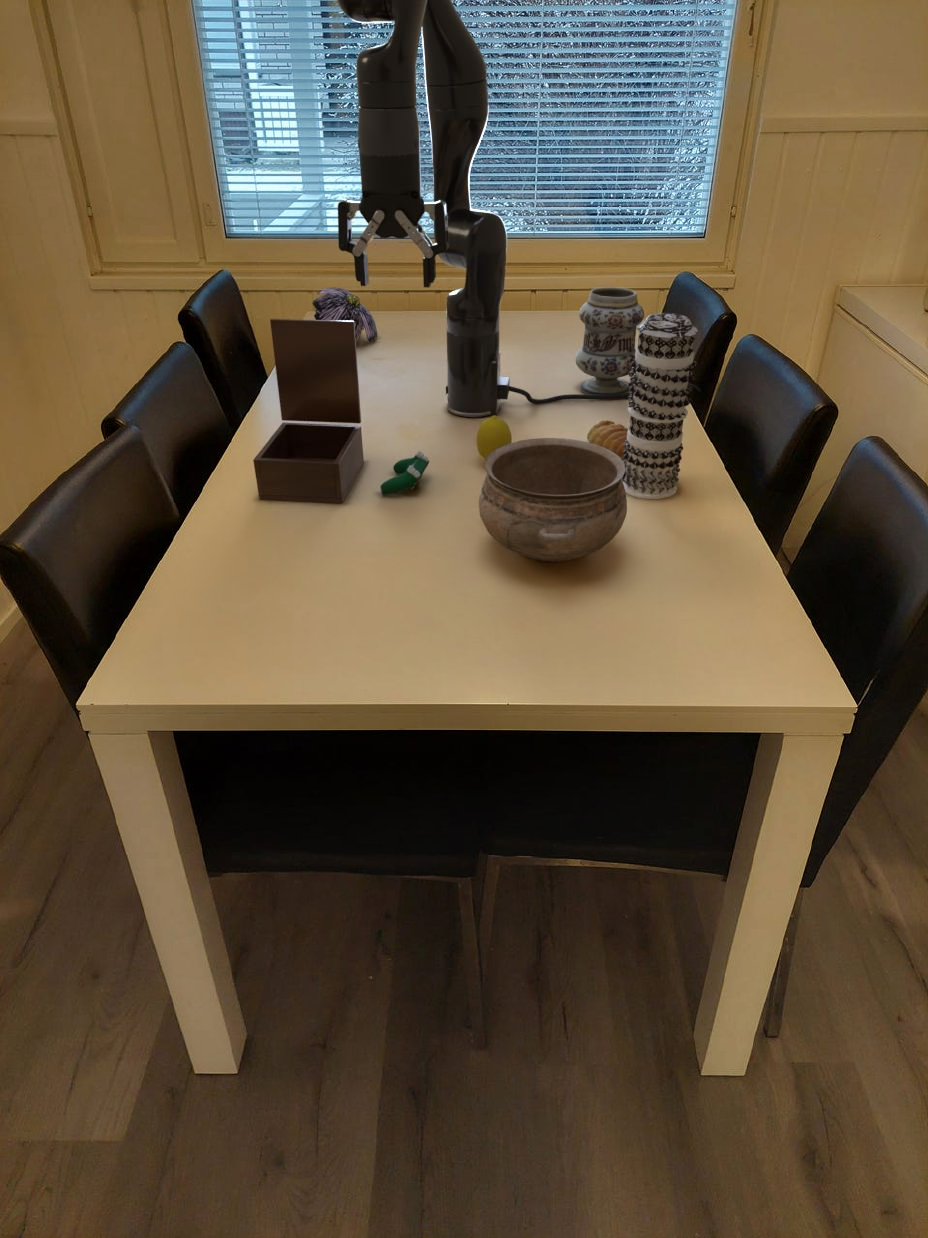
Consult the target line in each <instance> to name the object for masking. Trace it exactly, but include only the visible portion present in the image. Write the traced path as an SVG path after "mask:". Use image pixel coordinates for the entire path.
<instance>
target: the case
mask: <svg viewBox="0 0 928 1238" xmlns="http://www.w3.org/2000/svg"><path fill="white" fill-rule="evenodd" d="M362 434H363V433H362V425H360V424H359V425H358V424H336V423H335V424H333V423H332V424H331V423H309V422H306V423H305V422H285V421H284V422H282V423H281V424H280V425H279V427H278V428H277V429H276V430H275V431H274V433H273V434H272V436H271V437H270V438H268V441H267V442H266V443H265V444H264V445H263V447H262V448H261V449H260V450H259V452H258V453H257V455H256V456H255V457H254V458H253V460H252V461H253V467H254V468H253V469H254V474H255V480H256V487H257V494H258V499H259V500H268V501H288V502H306V503H307V502H308V503H309V502H310V503H329V504H330V503H331V504H343V503H344V501H345V499H346V498H347V496H348V493H349V492H350V489H351V488H352V486H353V484H354V482H355V480H356V478H357V476H358V474H359V472H360V470H361V469H362V467H363V465H364V463H365V462H364V461H365V460H364V447H363V435H362Z"/></svg>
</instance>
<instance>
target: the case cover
mask: <svg viewBox="0 0 928 1238" xmlns="http://www.w3.org/2000/svg"><path fill="white" fill-rule="evenodd" d="M269 323H270V331H271V339H272V348H273V355H274V357H273V358H274V365H275V373H276V382H277V392H278V398H279V399H278V400H279V408H280V417H281V421H284V422H285V421H287V422H310V423H312V422H313V423H335V424H337V423H338V424H361V423H362V413H361V399H360V398H361V397H360V384H359V383H360V382H359V369H358V355H357V354H358V353H357V343H356V337H355V323H354V321H341V320H316V319H300V318H299V319H297V318H291V319H290V318H270V320H269Z"/></svg>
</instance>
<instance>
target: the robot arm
mask: <svg viewBox="0 0 928 1238" xmlns="http://www.w3.org/2000/svg"><path fill="white" fill-rule="evenodd" d="M336 1H337V4H338V5H339V8H340V10H341V11H342V12H343V13H344V15H345V16H347V17H348V19H351V20H352V21H354V22H357V23H362V24H379V23H380V24H381V23H382V24H383V23H385V24H386V23H388V24H389V23H393V29H392V32H391V35H390V36H389V38H388V39H387V42H385V43H383V44H381V45H377V46H373V47H370V48H366V49H364V50H362V51H361V52H359V54H358V55H357V57H356V64H355V65H356V66H355V67H356V70H355V71H356V87H357V101H358V121H357V135H358V136H357V137H358V138H357V148H358V152H359V167H360V168H359V169H360V185H361V198H360V201H356V200H351V199H349V198H344V199H342V200H340V201H339V202H338V203H337V232H338V233H337V235H338V236H337V237H338V249H339V250H340V251H341V252H347V253H349V254H351V255H352V256H353V258H354V259H353V260H354V262H353V263H354V275H355V276H354V277H355V279H356V281H357V282H359V283H360V286H361V287H367V286H368V285H369V283H370V276H369V258H368V253H366V250H367V249H368V247H369V245H370V244H371V242H372V241H373V239H374V238H375V236H378V237H379V238H380V239H388V238H391V237H393V238H396V239H405V238H407V237H409V238H410V240H411V241H412V242H413V244H415V245H416V246H417V248H418V249H419V250H420V251H421V253H422V254H423V256H424V257H423V258H422V274H423V276H422V277H423V279H422V280H423V288H428V289H430V287H431V286H432V284H433V283H435V280H436V278H437V271H436V270H437V269H436V267H437V265H436V258H437V256H438V257H439V259H440V261H442V263H444V265H447V266H449V267H452V268H455V269H461V270H465V280H464V285H463V288H459V289H456V290H453V291H451V292H449V293H448V294H447V296H446V298H445V318H446V320H445V322H446V323H445V326H446V375H447V377H446V378H447V383H446V384H447V385H446V386H445V395H446V396H447V404H446V405H447V407H446V408H447V411H448V412H449V413H451V414H453V415H456V416H460V417H465V418H466V417H468V418H480V417H486V416H494V415H495V416H497V415H498V412H499V409H500V404H501V400H508V398H509V394H510V392H512V393H515V394H519V395H521V396H524V397H525V398H526V400H527V401H528V402H529V403H531V404H534V405H542V404H551V403H555V402H558V401H563V400H616V399H628V397H629V396H630V393H631V392H630V393H622V394H585V393H581V394H580V393H577V394H576V393H575V394H574V393H573V394H572V393H570V394H569V393H568V394H560V395H555V396H551V397H547V398H539V399H538V398H533V397H532V395H531V394H530V393H529V392H528V391H526V390H524V389H522V388H519V387H514V386H510V378H511V377H510V376H501V352H500V329H501V327H500V326H501V325H500V323H501V322H500V321H501V302H502V299H503V296H504V293H505V291H504V290H505V286H506V285H505V284H506V270H507V257H508V234H507V229H506V225H505V223H504V221H503V219H502V217H501V216H499V215H498V214H497V213H494V212H491V211H486V210H480V209H473V208H472V206H471V197H470V195H471V194H470V174H471V168H472V165H473V160H474V158H475V155H476V153H477V150H478V148H479V146H480V143H481V142H482V141H481V140H482V138H483V135H484V133H485V130H486V127H487V123H488V117H489V88H488V87H489V86H488V79H487V78H488V73H487V72H488V71H487V65H486V62H485V59H484V57H483V54H482V52H481V50H480V48H479V46H478V45H477V43H476V41H475V40H474V38H473V36H472V34H471V32H470V31H469V29H468V27H467V26H466V25H465V23H464V22H463V20H462V19H461V17H460V14H459V13H458V11H457V10H456V8H455V6H454V3H453V1H452V0H336ZM421 37H422V39H421V40H422V50H423V62H424V63H423V64H424V81H425V92H426V93H425V94H426V104H427V114H428V121H429V129H430V140H431V141H430V142H431V158H432V159H431V160H432V173H433V174H432V175H433V201H431V202H425V201H424V198H423V196H422V174H421V173H422V172H421V171H422V170H421V169H422V168H421V136H420V122H419V116H418V107H417V105H418V103H417V60H418V51H419V45H420V38H421ZM357 212H359V213H360V214H361V216H362V218H363V219H364V220H365V221H366V223H367V226H366V227H365V228H364V230H363V232H362V233H361V235H360V237H359V239H358V240H357V241H354V240H353V222H352V221H353V219H355V218H356V216H357ZM425 213H428V215H429V219H430V220H431V221H433V238H434V243H433V241H432V240H431V238H430V237H429V236H428V234H427V232H426V230H425V228H423V226H422V225H421V224H420V221H421V219H422V218H423V216H424V214H425ZM687 385H689V386H690V387H691V388H693V392H696V393H700V392H701V389H700V388H699V386H697V385H695V384H694V383H691V382H688V384H687Z"/></svg>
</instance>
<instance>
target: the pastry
mask: <svg viewBox="0 0 928 1238" xmlns="http://www.w3.org/2000/svg"><path fill="white" fill-rule="evenodd" d="M628 429H629V427H628V428H627V427H625V426H624V425H623V424H620V423H615V422H614V421H611V420H608V419H606V420H601V421H599V422H598V423H596V424H594V425H593V426H592V427H591V428H590V430H589V432H588V433H587V442H588V443H592V444H596V445H598V446H601V447H604V448H606V449H608V450H610V451H612V452H613V453H615V454H616V455H617V456H619V457H620V459H621V460H625V458H624V454H623V452H624V451H625V450H626V448H625V444H624V442H625V441H626V440H627V432H628Z"/></svg>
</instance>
